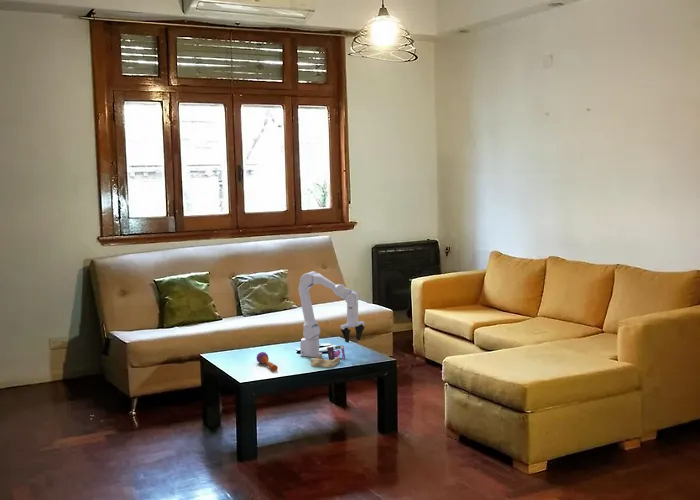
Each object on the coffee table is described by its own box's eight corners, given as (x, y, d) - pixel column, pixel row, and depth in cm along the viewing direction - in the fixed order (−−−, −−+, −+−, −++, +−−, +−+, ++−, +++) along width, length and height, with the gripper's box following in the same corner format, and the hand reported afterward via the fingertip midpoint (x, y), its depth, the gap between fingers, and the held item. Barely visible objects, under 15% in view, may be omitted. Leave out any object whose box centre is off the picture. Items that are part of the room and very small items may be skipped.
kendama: (267, 364, 371) (253, 352, 389) (269, 375, 373) (256, 363, 390) (279, 360, 373) (264, 349, 391) (281, 372, 375) (266, 359, 393)
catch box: (311, 365, 382) (310, 358, 382) (319, 359, 393) (319, 353, 392) (331, 367, 378) (331, 360, 378) (339, 361, 389) (339, 354, 388)
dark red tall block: (327, 347, 392) (343, 345, 396) (324, 348, 397) (340, 346, 400) (329, 360, 391) (345, 358, 394) (326, 361, 395) (342, 359, 399)
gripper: (346, 318, 384) (347, 344, 385) (368, 314, 393) (368, 340, 395) (337, 316, 389) (338, 342, 391) (359, 312, 398) (359, 337, 400)
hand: (352, 341), depth 393 cm, fingers open, 7 cm apart
